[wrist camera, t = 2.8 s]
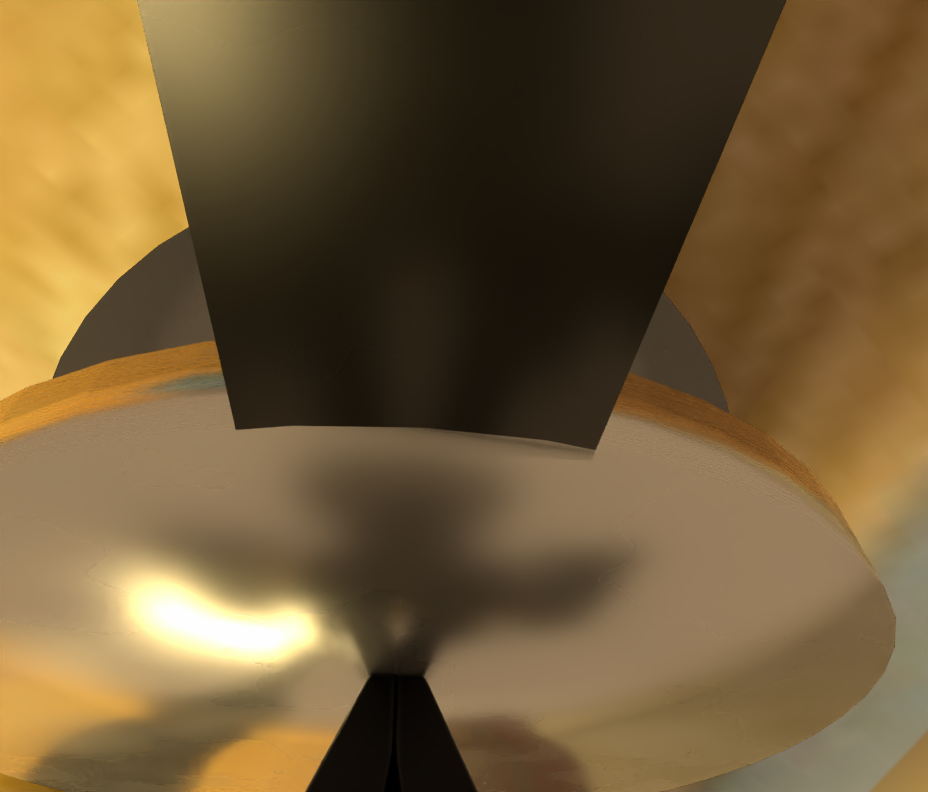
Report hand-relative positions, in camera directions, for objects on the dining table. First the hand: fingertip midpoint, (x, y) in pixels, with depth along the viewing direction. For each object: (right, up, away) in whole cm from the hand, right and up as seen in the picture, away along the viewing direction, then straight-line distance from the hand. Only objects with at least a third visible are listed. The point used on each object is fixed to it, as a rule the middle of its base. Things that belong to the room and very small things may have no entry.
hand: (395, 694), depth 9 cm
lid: (0, +1, +1) cm, 1 cm away
